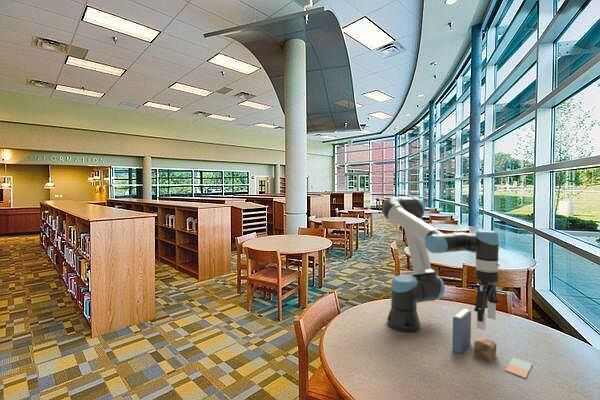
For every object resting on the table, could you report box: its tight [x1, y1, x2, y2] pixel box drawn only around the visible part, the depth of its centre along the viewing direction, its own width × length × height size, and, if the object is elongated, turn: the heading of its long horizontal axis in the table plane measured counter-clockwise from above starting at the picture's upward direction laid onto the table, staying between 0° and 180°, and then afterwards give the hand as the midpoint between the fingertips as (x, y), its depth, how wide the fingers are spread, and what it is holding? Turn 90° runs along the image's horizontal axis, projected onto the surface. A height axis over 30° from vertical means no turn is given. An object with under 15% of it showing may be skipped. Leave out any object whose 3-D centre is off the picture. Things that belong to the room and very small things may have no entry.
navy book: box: [451, 308, 472, 355], centre depth 122 cm, size 3×12×14 cm, turn 133°
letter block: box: [473, 336, 497, 362], centre depth 116 cm, size 6×6×6 cm
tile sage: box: [509, 357, 533, 372], centre depth 110 cm, size 6×6×1 cm
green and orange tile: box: [504, 362, 530, 380], centre depth 106 cm, size 6×6×1 cm
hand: (486, 323), depth 115 cm, fingers open, 13 cm apart
